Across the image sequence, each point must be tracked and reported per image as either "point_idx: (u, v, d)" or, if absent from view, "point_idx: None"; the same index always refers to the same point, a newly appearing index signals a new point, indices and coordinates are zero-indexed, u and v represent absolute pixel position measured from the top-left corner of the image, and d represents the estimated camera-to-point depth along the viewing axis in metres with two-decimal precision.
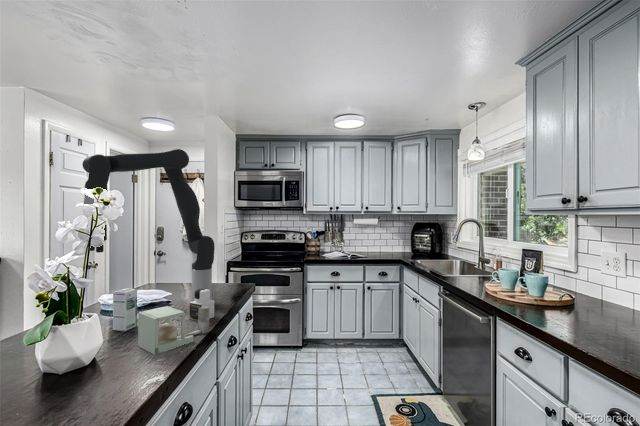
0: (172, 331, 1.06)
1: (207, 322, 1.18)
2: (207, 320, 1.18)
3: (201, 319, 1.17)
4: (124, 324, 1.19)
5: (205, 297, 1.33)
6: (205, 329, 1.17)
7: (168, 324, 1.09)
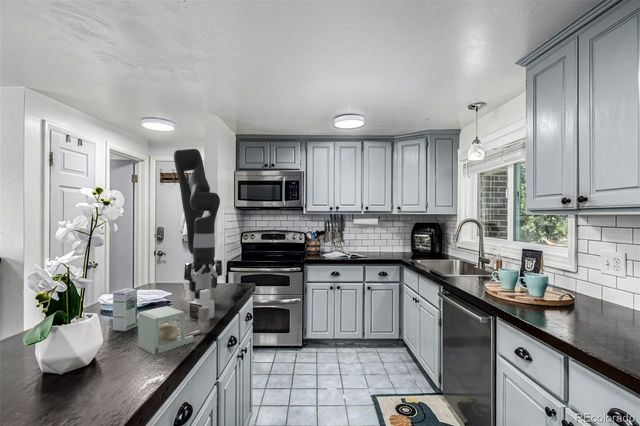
0: (172, 331, 1.06)
1: (207, 322, 1.18)
2: (207, 320, 1.18)
3: (201, 319, 1.17)
4: (124, 324, 1.19)
5: (205, 297, 1.33)
6: (205, 329, 1.17)
7: (168, 324, 1.09)
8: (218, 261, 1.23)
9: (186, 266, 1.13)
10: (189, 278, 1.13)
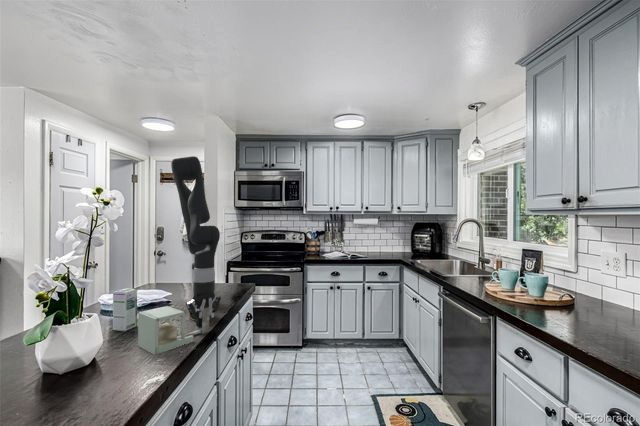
0: (172, 331, 1.06)
1: (207, 322, 1.18)
2: (207, 320, 1.18)
3: None
4: (124, 324, 1.19)
5: None
6: (205, 329, 1.17)
7: (168, 324, 1.09)
8: (218, 297, 1.23)
9: (188, 306, 1.14)
10: (196, 315, 1.15)
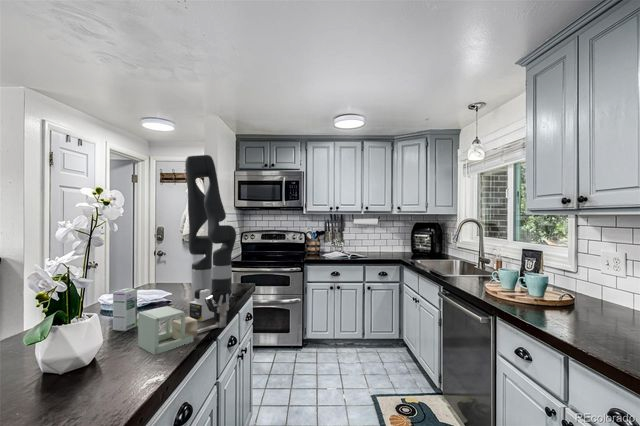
0: (192, 325, 1.12)
1: (224, 317, 1.24)
2: (224, 315, 1.24)
3: None
4: (124, 324, 1.19)
5: (205, 297, 1.33)
6: (222, 323, 1.24)
7: (189, 318, 1.15)
8: (234, 293, 1.29)
9: (206, 301, 1.20)
10: (214, 310, 1.21)
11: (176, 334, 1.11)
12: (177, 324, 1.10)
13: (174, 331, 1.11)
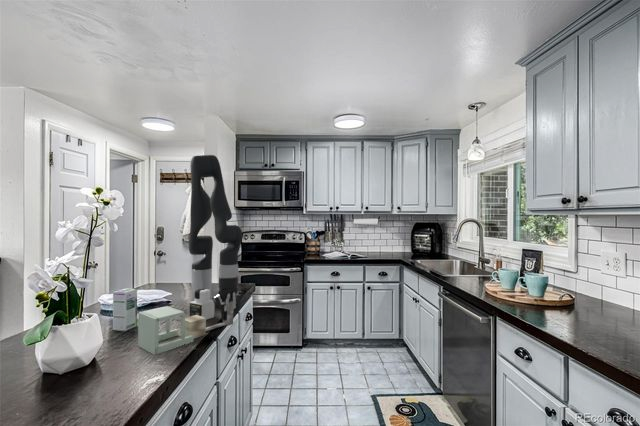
0: (201, 323, 1.14)
1: (231, 315, 1.27)
2: (231, 313, 1.27)
3: None
4: (124, 324, 1.19)
5: (205, 297, 1.33)
6: (230, 321, 1.26)
7: (197, 316, 1.17)
8: (240, 292, 1.31)
9: (214, 300, 1.22)
10: (221, 308, 1.23)
11: (185, 332, 1.13)
12: (186, 322, 1.12)
13: None
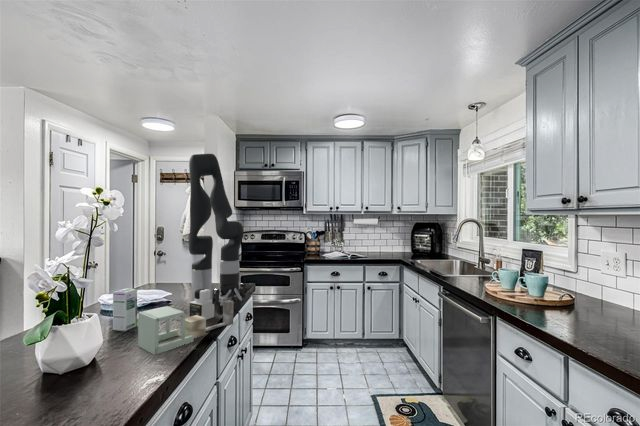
0: (201, 323, 1.14)
1: (231, 315, 1.27)
2: (231, 313, 1.27)
3: (226, 312, 1.26)
4: (124, 324, 1.19)
5: (205, 297, 1.33)
6: (230, 321, 1.26)
7: (197, 316, 1.17)
8: (242, 285, 1.32)
9: (214, 291, 1.22)
10: (217, 303, 1.22)
11: (185, 332, 1.13)
12: (186, 322, 1.12)
13: None
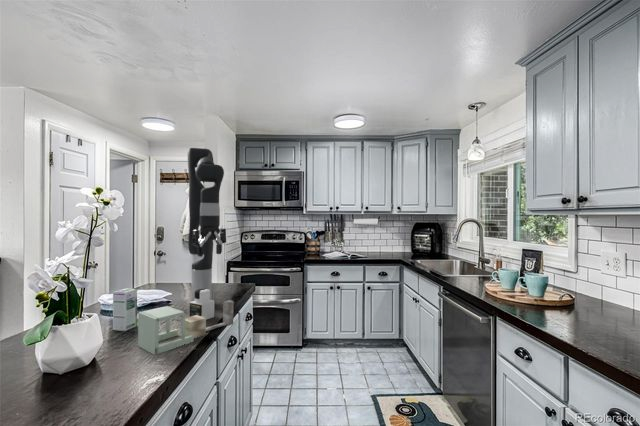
0: (201, 323, 1.14)
1: (231, 315, 1.27)
2: (231, 313, 1.27)
3: (226, 312, 1.26)
4: (124, 324, 1.19)
5: (205, 297, 1.33)
6: (230, 321, 1.26)
7: (197, 316, 1.17)
8: (222, 229, 1.32)
9: (194, 232, 1.22)
10: (197, 243, 1.22)
11: (185, 332, 1.13)
12: (186, 322, 1.12)
13: None
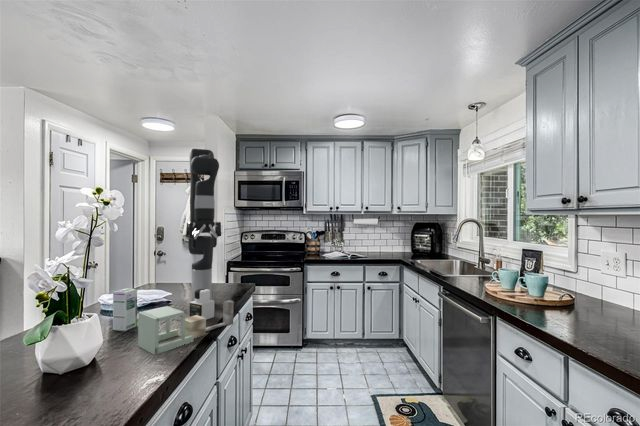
0: (201, 323, 1.14)
1: (231, 315, 1.27)
2: (231, 313, 1.27)
3: (226, 312, 1.26)
4: (124, 324, 1.19)
5: (205, 297, 1.33)
6: (230, 321, 1.26)
7: (197, 316, 1.17)
8: (217, 223, 1.32)
9: (188, 224, 1.22)
10: (191, 235, 1.22)
11: (185, 332, 1.13)
12: (186, 322, 1.12)
13: None
